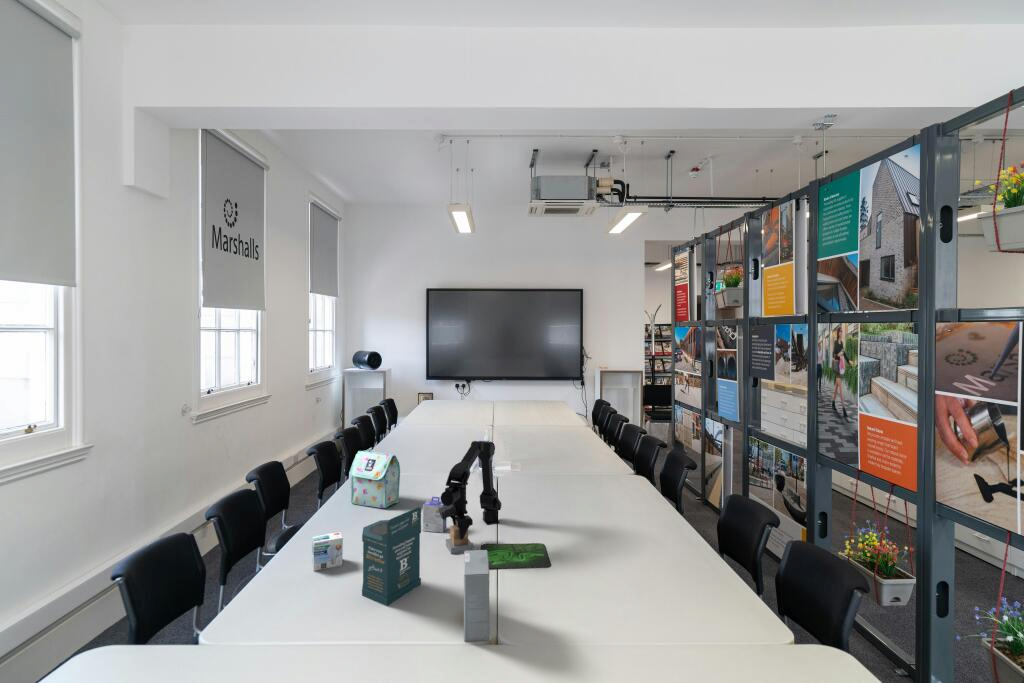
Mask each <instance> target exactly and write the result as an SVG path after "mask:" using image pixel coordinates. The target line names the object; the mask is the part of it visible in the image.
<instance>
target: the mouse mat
mask: <svg viewBox="0 0 1024 683" xmlns="http://www.w3.org/2000/svg"><path fill="white" fill-rule="evenodd" d="M480 550H487V551H488V560H489V570H519V569H520V570H522V569H523V570H524V569H527V570H528V569H548V568H551V567H552V561H551V559H550V556H549V553H548V550H547V547H546V544H544V543H540V542H536V543H535V542H533V543H531V542H530V543H493V542H490V543H482V544H481V545H480Z"/></svg>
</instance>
